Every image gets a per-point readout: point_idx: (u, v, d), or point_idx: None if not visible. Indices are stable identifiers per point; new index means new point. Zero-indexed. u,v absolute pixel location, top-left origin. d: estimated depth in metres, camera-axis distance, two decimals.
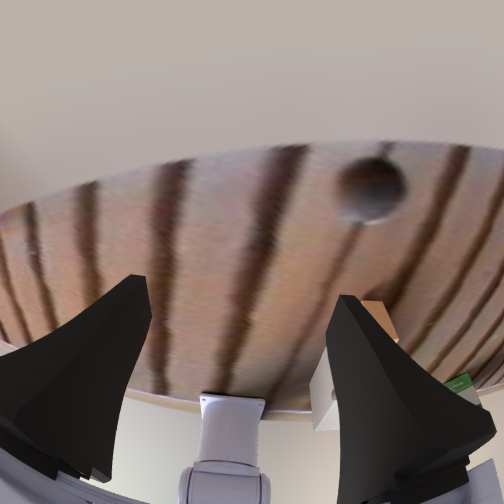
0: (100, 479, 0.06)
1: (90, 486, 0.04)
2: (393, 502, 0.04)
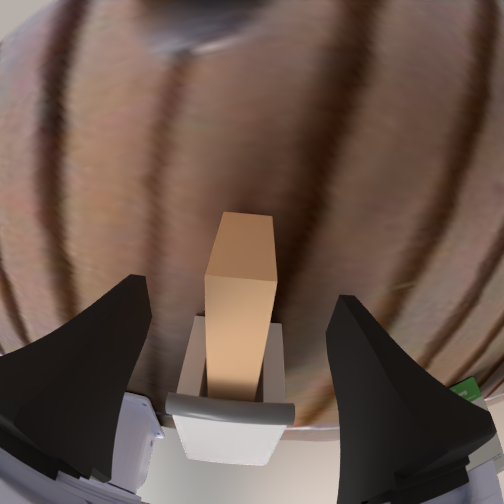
0: (100, 478, 0.06)
1: (90, 486, 0.04)
2: (393, 502, 0.04)
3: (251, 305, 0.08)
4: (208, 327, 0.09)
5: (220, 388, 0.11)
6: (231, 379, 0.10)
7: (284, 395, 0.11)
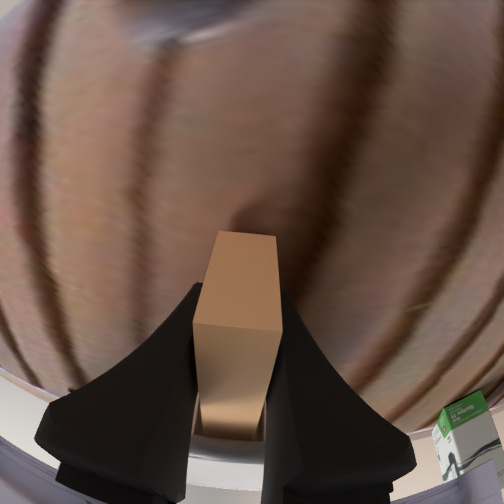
0: (176, 500, 0.06)
1: None
2: None
3: (250, 354, 0.07)
4: (200, 374, 0.07)
5: (217, 427, 0.09)
6: (228, 420, 0.09)
7: None
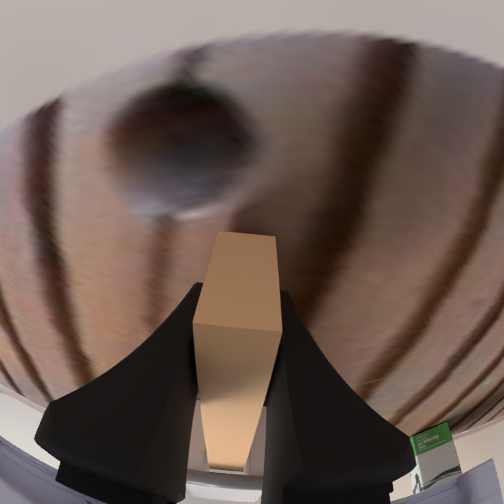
0: (176, 500, 0.06)
1: None
2: None
3: (249, 354, 0.07)
4: (200, 374, 0.07)
5: (216, 426, 0.09)
6: (228, 420, 0.09)
7: None
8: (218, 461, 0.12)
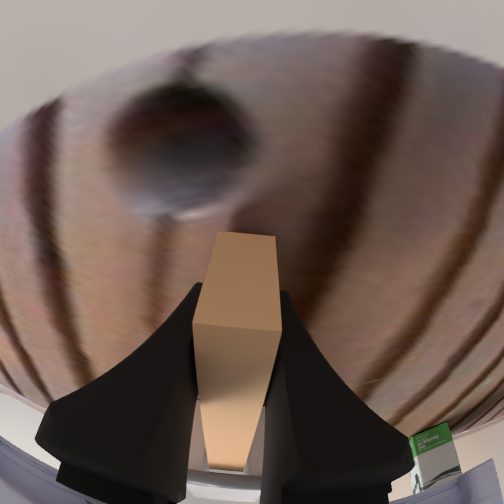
0: (176, 500, 0.06)
1: None
2: None
3: (249, 354, 0.07)
4: (199, 374, 0.07)
5: (216, 426, 0.09)
6: (228, 420, 0.09)
7: None
8: (218, 461, 0.12)
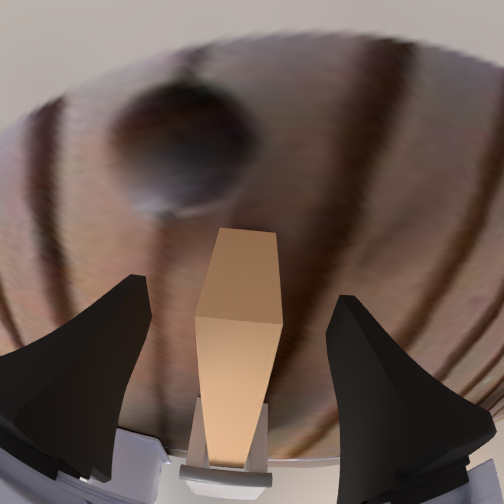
0: (100, 479, 0.06)
1: (90, 486, 0.04)
2: (393, 502, 0.04)
3: (251, 348, 0.07)
4: (201, 368, 0.07)
5: (217, 422, 0.09)
6: (229, 415, 0.09)
7: (266, 465, 0.13)
8: (219, 458, 0.12)
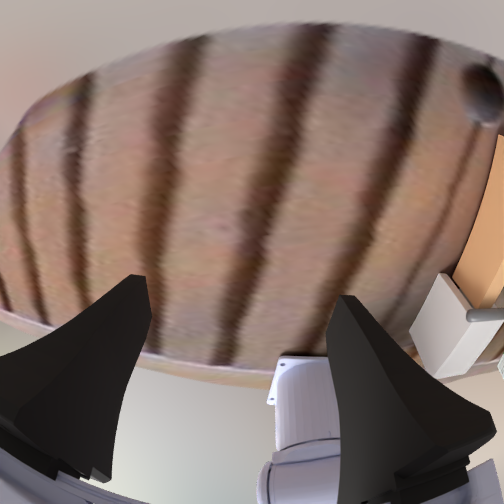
0: (100, 478, 0.06)
1: (90, 486, 0.04)
2: (393, 502, 0.04)
3: None
4: None
5: None
6: None
7: (496, 307, 0.17)
8: (492, 290, 0.15)
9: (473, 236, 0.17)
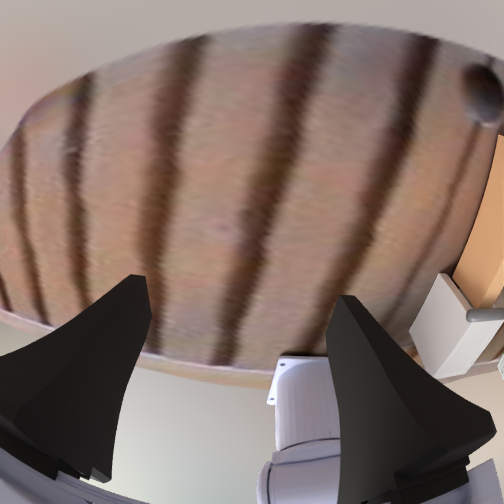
0: (100, 478, 0.06)
1: (90, 486, 0.04)
2: (393, 502, 0.04)
3: None
4: None
5: None
6: None
7: (496, 307, 0.17)
8: (492, 290, 0.15)
9: (473, 236, 0.17)
